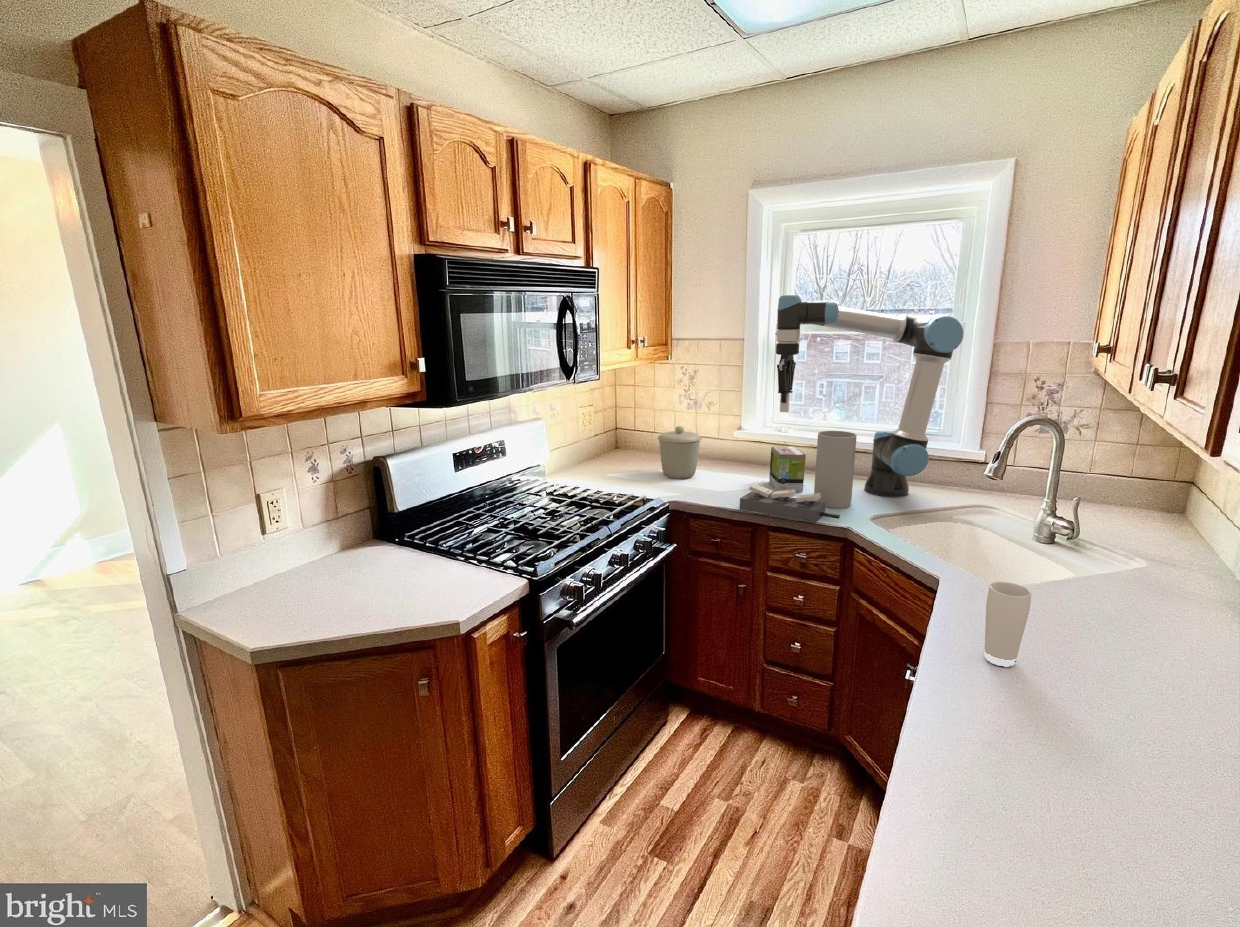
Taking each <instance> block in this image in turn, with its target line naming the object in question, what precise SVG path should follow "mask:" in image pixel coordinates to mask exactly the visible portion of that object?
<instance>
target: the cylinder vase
mask: <svg viewBox="0 0 1240 927" xmlns="http://www.w3.org/2000/svg"><path fill="white" fill-rule="evenodd" d="M857 435H858V434H857V433H855V432H851V431H846V430H845V431H844V430H822V431H819V432H817V444H816V459H815V470H814V471H815V473H814V488H813V489H814V490H813V494H815V493H821V498H820V499H818V500H816V501H817V502H824V503H825V509H826V508H827V509H837V510H838V509H845V508H849V507H850V506H851V504H852V497H853V487H854V486H853V485H854V483H853V482H854V473H855V472H854V471H855V460H856V448H857V447H856V446H857Z"/></svg>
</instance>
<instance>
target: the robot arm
mask: <svg viewBox="0 0 1240 927" xmlns="http://www.w3.org/2000/svg"><path fill="white" fill-rule="evenodd" d="M777 305H778V306H777V320H776V322H777V324H776V332H775V335H776V344H775V353H776V354H775V355H777V356H778V355H780V359H779V363H778V364H777V365H776V368H777V385H778V386H777V387H778V390H777V393H778V394H780V396H779V397H780V399H779V401H780V402H779V403H780V404H779V413H789V412H790V396H791V395H790V394H792V393H794V392H793V385H794V378H795V377H794V376H795V369H796V365H797V363H796V362H795V359H794V356H795V355H799V353H800V352H799V351H800V344H799V342H800V339H801V338H800V336H801V325H816V326H820V327H827V328H833V329H839V330H842V331H843V330H844V331H849V332H854V333H861V334H866V335H872V336H877V337H883V338H887V339H892V340H893V342H894V343H899V344H904V345H907V346H910V347H913V352H912V355H913V356H914V357H915V359H916V360H915V364H914V367H913V371H912V375H911V378H910V383H909V387H908V390H907V394H906V397H905V401H904V406H903V410H902V413H901V417H900V420H899V424H898V428H897V429H895V430H877V431H876V432H875V433H874V436H873V440H872V441H873V445H872V456H871V457H872V458H871V468H870V469H871V470H870V472H869V474H868V476H867V479H866V481H865V483H864V491H865V492H866V493H868V494H871V495H874V496H880V497H889V498H891V497H892V498H898V497H899V498H900V497H906V496H908V495H909V492H910V491H909V490H910V488H909V487H910V486H909V483H908V480H907V479H908V478H907V477H913V476H916V475H919V474H920V473H922V472H923V471H925V469H926V468H927V466H928V463H929V461H930V456H929V455H930V454H929V453H928V451H927V446H928V444H929V438H928V436H927V435H926V432H927V428H928V424H929V421H930V417H931V413H932V410H933V406H934V402H935V399H936V395H937V392H938V388H939V384H940V381H941V377H942V373H943V369H944V366H945V364H946V363H948V362H949V361H950V360H952V357H953V354H954V350H956V349H957V348H959V346H960V345H961V343H962V342H963V339H964V328H963V325H962V324H961V322H960V321H959V320H958V319H957V318H955V317H954V316H951V315H946V314H931V315H930V314H929V315H928V314H927V315H908V314H900V315H898V316H896V315H890V314H886V313H879V312H874V311H868V310H867V311H866V310H863V309H862V310H861V309H857V308H856V309H854V308H850V307H843V306H840V305H839V303H838V302H837V301H836V300H830V299H828V300H808V301H806V300H803V296H802V295H800V294H796V295H795V294H791V295H790V294H789V295H788V294H787V295H781V296H780V297H779V298H778V304H777ZM777 342H778V343H777Z"/></svg>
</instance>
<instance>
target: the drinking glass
mask: <svg viewBox="0 0 1240 927" xmlns="http://www.w3.org/2000/svg"><path fill="white" fill-rule="evenodd" d="M1031 601H1032V592H1031V590H1029V589H1028V588H1026V587H1024V586H1023V585H1019V584H1017V583H1014V582H1010V581H1009V582H1007V581H995V582H994V581H993V582H992V583H990V584H989V587H988V592H987V598H986V605H985V627H984V628H985V630H984V631H985V633H984V649H985V652H986V653H987V654H990V655H991V656H993V657H996V658H999V659H1004V660H1013V659H1016V658H1017V659H1018V654H1019V651H1020V650H1019V649H1020V647H1021V643H1022V640H1023V635H1024V632H1025V628H1026V624H1027V622H1028V617H1029V614H1030V608H1031V603H1032V602H1031Z"/></svg>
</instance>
